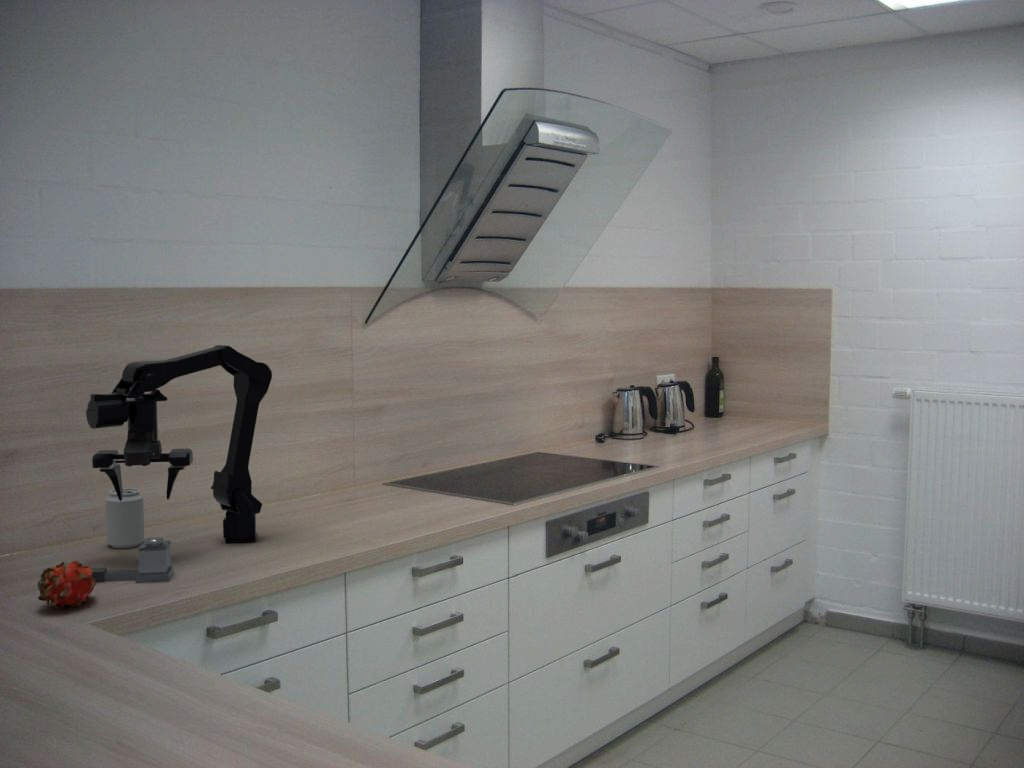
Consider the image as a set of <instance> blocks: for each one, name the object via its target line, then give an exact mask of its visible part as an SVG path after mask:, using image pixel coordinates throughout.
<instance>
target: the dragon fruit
mask: <svg viewBox="0 0 1024 768" xmlns="http://www.w3.org/2000/svg"><path fill="white" fill-rule="evenodd" d="M91 568H92V567H90V566H89V564H88V565H87V564H86V565H82V562H81V561H78V560H73V561H71V562H70V563H68V562H65V561H63V562H61V563H59V564H57V565H56V566H49V567H48V568H46V569H44V570H43V572H42V573H41V575H40V579H39V581H38V582H37V588H38V591H39V596H38V600H39V601H41V602H42V601H43V602H46V606H52V607H54V608H56V609H57V610H62V609H63V608H64V607H65V606H66V605H69V606H71V607H75V606H76V607H80V606H81V605H82V603H87V602H88V599H89V598H90V595H91V593H92V592H93V590H94V588H95V586H96V585H98V582H95V578H94V577H93V575H92V573H93V571H92V569H91Z"/></svg>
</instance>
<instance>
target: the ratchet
mask: <svg viewBox="0 0 1024 768" xmlns="http://www.w3.org/2000/svg"><path fill="white" fill-rule="evenodd" d="M174 567H175V565H173V564H171V566H170V568H169V570H168V572H167V573H154V574H139V568H134V569H133V568H129V569H110V570H109V569H108V567H105V566H104V567H103V566H102V567H90V568H91V569H92V571H93V573H92V575H93V577H94V578H95V582H96V583H104V582H120V581H121V582H122V581H135V583H136V584H139V583H159V582H161V583H162V582H163V583H165V582H170V580H171V578H172V577H173V575H174V573H175V572H174V571H175V569H174Z"/></svg>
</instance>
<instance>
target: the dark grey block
mask: <svg viewBox="0 0 1024 768" xmlns="http://www.w3.org/2000/svg"><path fill="white" fill-rule="evenodd" d="M137 551H138V553H137V554H138V569H139V574H154V573H167V572H168V570H169V568H170V566H171V565H172V563H171V562H172V561H171V557H172V556H171V555H172V554H171V553H172V552H171V540H164V538H163V537H160V536H154V537H148V538H146V539H144V541H143V542H142V543H141V544H140V545H139V546H138V548H137Z"/></svg>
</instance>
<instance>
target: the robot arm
mask: <svg viewBox="0 0 1024 768" xmlns="http://www.w3.org/2000/svg"><path fill="white" fill-rule="evenodd" d="M219 366H220V367H221V368H222V369H223V370H224V371H226V373H229V375H232V376H233V389H234V390H233V391H234V393H235V397H236V405H235V409H234V410H235V411H234V417H233V421H232V427H231V433H230V439H229V443H228V444H229V445H228V450H227V456H226V461H225V465H224V466H223V468H222V469H221V470H220V471H218V470H215V471H213V472H214V473H213V482H212V485H211V487H210V489H211V490H212V495H213V498H214V499H215V502H217V503H218V504H219V505H220V509H221V510H222V511H225V517H224V518H223V519H222V533H223V535H222V536H223V539H224V543H227V544H228V543H230V544H231V543H248V542H250V543H251V542H256V541H257V538H258V532H257V514H260V513H261V512H262V511H261V510H262V507H263V503H262V502H261V501H260V500H259V499H257V498H256V497H255V496H254V495H253V493H252V492H253V491H252V487H253V486H252V485H253V483H252V477H251V474H250V470H249V465H250V459H251V454H252V448H253V441H254V436H255V432H256V431H255V430H256V425H257V418H258V413H259V407H260V403H261V402H262V400H263V399H264V398H265V396H266V394H267V393H268V391H269V388H270V385H271V381H272V379H273V372H272V370H271V368H270V366H269V365H268V364H267V363H264V362H261V361H256V360H255V359H252V358H251V357H248V356H246V355H245V354H243V353H241V352H239V351H237V350H236V349H234V348H233V347H232V346H230V345H223V344H218V345H217V344H216V345H214V346H213V347H210V348H206V349H203V350H198V351H194V352H191V353H187V354H184V355H180V356H176V357H172V358H168V359H163V360H162V359H161V360H160V359H159V360H142V361H133V362H130V363H128V364H126V365H125V367H124V369H123V371H122V375H121V378H120V380H119V381H118V382H117V384H116V386H115V387H114V388H113V390H112V391H111V392H110V393H103V394H102V393H91V394H90V400H89V401H88V403H87V408H86V410H85V414H86V420H87V425H88V426H89V427H90V428H91V429H94V430H96V429H105V428H114V427H122V426H124V424H125V423H127V437H126V438H127V439H126V441H125V445H124V448H123V453H119V451H118V449H103V450H99V451H97V452H96V453H94V455H93V456H92V460H91V461H92V462H91V463H92V465H91V466H92V469H99V472H100V473H101V472H102V473H105V474H106V475H107V477H108V478H109V479H110V482H111V484H112V486H113V488H114V490H115V491H116V493H117V496H118V498H119V501H122V499H123V489H122V488H123V482H122V471H121V464H124V465H125V466H126V467H133V466H141V467H148V466H149V465H151V463H169V467H167V483H166V500H170V498H171V495H172V491H173V489H174V486H175V482H176V479H177V477H178V475H179V472H180V471H184V469H185V468H186V467H188V466H189V467H190V466H191V465H192V463H193V461H194V452H193V450H192V449H191V448H171V450H170V451H169V452H163V451H162V450H163V449H162V443H161V440H159V434H158V433H159V431H158V430H159V428H158V402H167V401H168V397H167V396H166V395H164V394H163V393H162V392H161V390H160V389H161V387H164V386H166V385H167V384H169V382H171V381H172V380H174V379H175V380H176V379H177V378H181V377H183V376H187V375H190V374H191V375H192V374H194V373H198V372H202V371H205V370H210V369H212V368H215V367H219Z"/></svg>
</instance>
